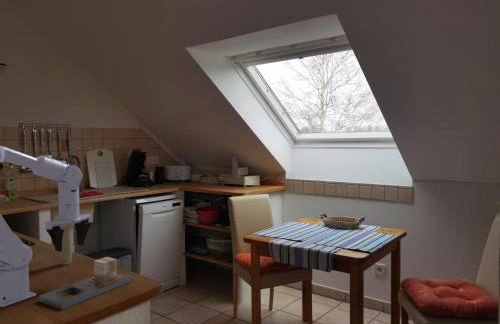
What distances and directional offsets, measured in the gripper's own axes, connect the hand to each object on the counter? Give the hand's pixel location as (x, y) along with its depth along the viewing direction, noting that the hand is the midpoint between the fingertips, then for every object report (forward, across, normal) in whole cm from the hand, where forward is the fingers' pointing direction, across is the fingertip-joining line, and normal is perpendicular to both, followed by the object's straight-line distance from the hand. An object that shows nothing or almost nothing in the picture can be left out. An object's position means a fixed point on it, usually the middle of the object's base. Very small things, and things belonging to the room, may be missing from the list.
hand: (69, 248), depth 123 cm
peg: (+10, +4, -11) cm, 16 cm away
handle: (+11, +10, +16) cm, 22 cm away
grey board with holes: (+10, -2, -11) cm, 15 cm away
